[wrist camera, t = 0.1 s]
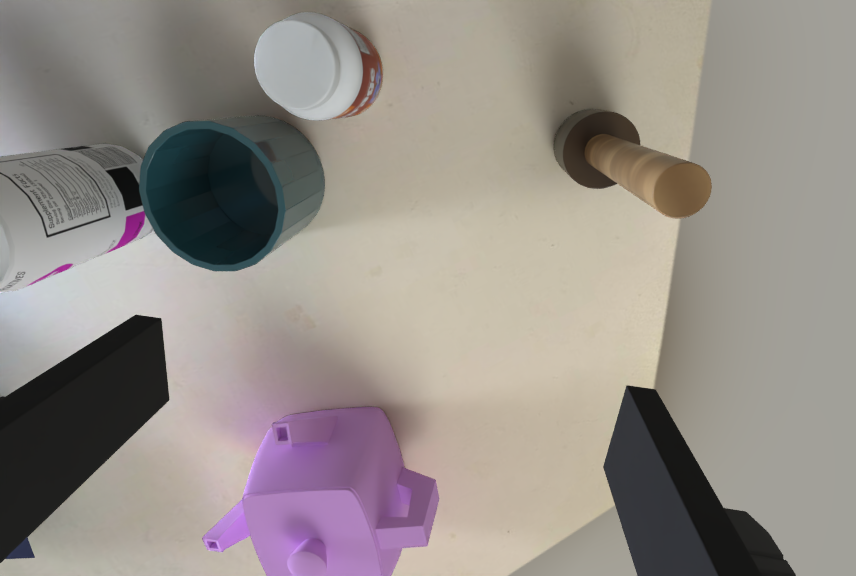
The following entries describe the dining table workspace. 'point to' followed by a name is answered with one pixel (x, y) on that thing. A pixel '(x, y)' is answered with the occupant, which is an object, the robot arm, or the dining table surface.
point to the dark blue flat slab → (22, 551)
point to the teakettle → (330, 498)
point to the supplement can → (66, 210)
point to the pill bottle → (318, 67)
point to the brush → (628, 163)
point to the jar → (230, 189)
